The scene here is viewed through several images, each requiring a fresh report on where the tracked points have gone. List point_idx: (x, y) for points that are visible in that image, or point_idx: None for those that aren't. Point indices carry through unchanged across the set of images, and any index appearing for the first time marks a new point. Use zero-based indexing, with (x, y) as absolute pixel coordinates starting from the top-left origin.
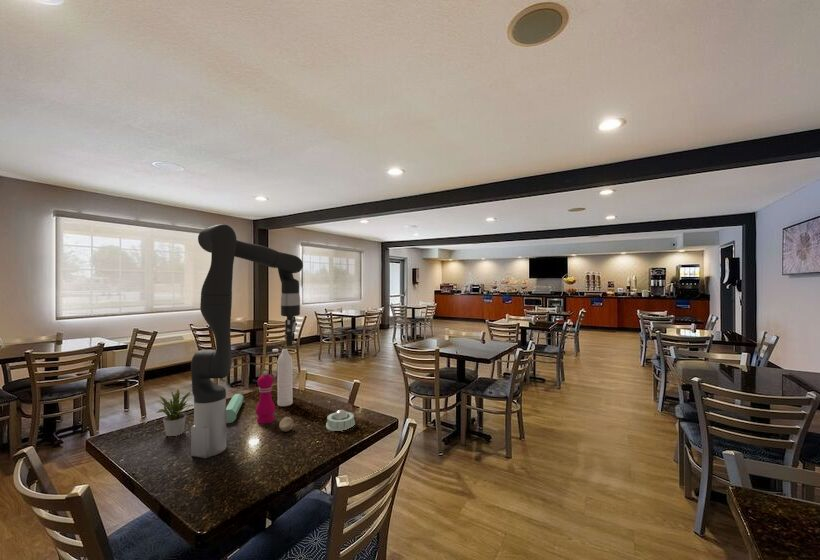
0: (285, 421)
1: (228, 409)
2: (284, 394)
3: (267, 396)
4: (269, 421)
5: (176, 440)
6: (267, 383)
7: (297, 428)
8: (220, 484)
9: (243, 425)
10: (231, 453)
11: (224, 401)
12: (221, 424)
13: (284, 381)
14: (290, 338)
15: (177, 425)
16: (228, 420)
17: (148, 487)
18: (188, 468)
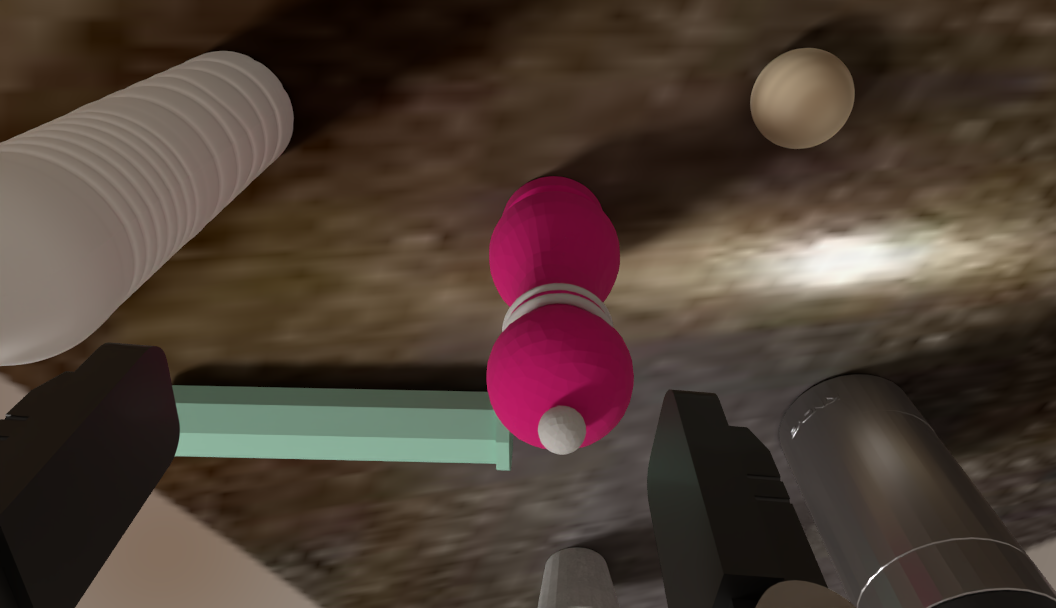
0: (848, 112)
1: (504, 456)
2: (261, 140)
3: (596, 294)
4: (599, 203)
5: (651, 551)
6: (629, 357)
7: (780, 10)
8: None
9: None
10: (927, 344)
11: (1019, 572)
12: (965, 479)
13: (213, 179)
14: (806, 550)
15: (615, 599)
16: None
17: (1036, 539)
18: (968, 466)
